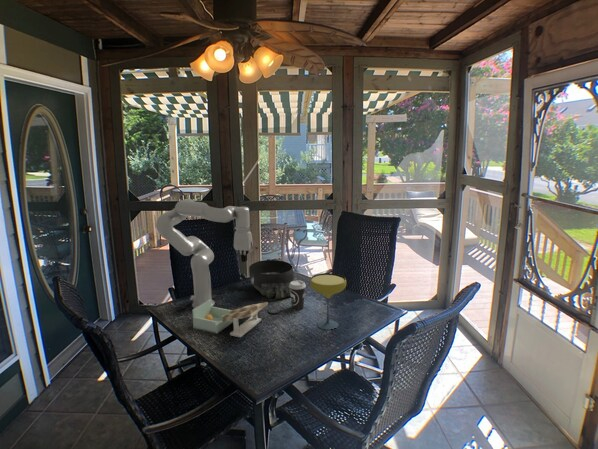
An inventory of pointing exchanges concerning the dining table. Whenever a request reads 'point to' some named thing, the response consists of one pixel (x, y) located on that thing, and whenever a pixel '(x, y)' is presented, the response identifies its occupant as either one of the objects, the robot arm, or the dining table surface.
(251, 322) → the stand
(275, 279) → the basket
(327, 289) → the cocktail glass
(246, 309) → the beige flat panel
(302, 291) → the coffee cup
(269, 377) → the dining table surface
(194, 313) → the bin
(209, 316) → the orange ball
